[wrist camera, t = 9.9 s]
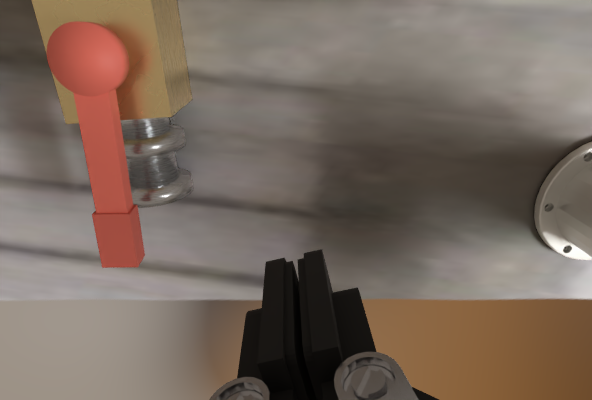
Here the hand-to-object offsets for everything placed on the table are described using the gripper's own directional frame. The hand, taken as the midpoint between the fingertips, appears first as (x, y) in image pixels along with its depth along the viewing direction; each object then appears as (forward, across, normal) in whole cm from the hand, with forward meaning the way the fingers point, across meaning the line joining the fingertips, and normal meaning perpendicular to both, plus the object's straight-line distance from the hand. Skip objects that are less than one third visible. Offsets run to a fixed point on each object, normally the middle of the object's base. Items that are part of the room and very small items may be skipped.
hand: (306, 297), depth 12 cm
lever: (+16, +12, -3) cm, 20 cm away
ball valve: (+25, +10, -9) cm, 28 cm away
